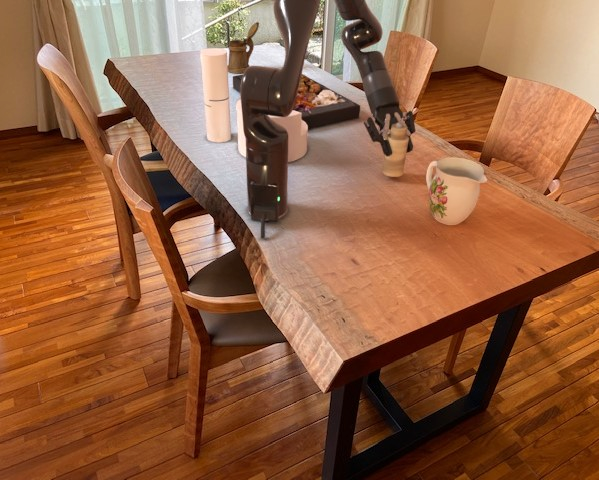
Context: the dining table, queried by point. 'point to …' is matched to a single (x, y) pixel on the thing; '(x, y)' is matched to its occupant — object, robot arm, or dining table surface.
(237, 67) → the wooden mug
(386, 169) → the pepper mill
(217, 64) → the cylindrical container
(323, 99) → the food platter
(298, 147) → the container
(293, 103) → the robot arm
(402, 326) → the dining table surface
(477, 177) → the pitcher
